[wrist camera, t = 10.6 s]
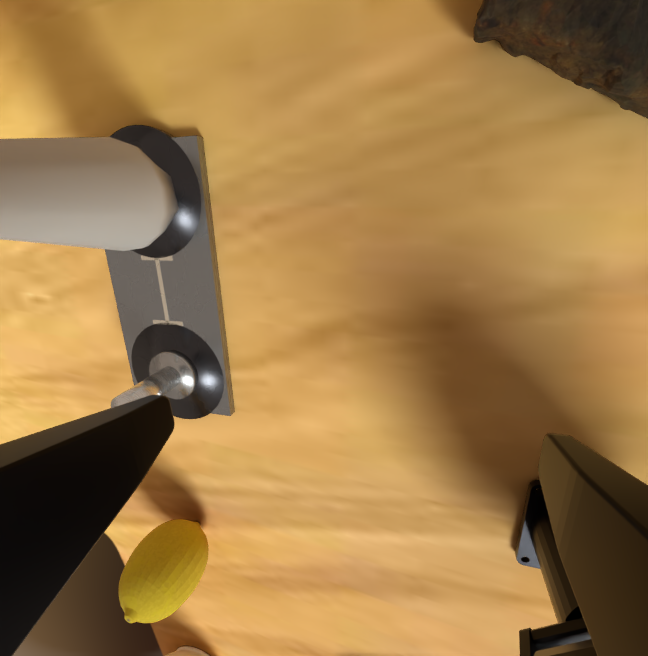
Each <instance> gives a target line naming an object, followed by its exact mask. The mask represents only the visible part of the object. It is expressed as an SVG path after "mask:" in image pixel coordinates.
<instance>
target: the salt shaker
mask: <svg viewBox="0 0 648 656" xmlns="http://www.w3.org/2000/svg"><path fill="white" fill-rule="evenodd" d="M178 210H179V207H178V203H177V199H176V195H175V191H174V187H173V183H172V179H171V176H169V175H168V174H167V173H166V172H164V171H163V170H162V169H161V168H160V167H158V166H157V165H156V164H155V163H154V162H153V161H152V160H151V159H150V158H149V157H148V156H147V155H146V154H145V153H143V152H142V151H141V150H140V149H139V148H138V147H136V146H134V145H131V144H128V143H125V142H123V141H120V140H117V139H114V138H111V137H79V138H25V139H0V239H4V240H14V241H24V242H35V243H45V244H56V245H66V246H77V247H87V248H98V249H108V250H118V251H127V250H134V249H141V248H144V247H147V246H149V245H150V244H151V243H152V242H153V241H155V240H156V239H157V238H158V237H159V236H160V235H161V234H162V233H164V232H165V230H166V229H167V227H168V226H169V224H170V222H171V221H172V219H173V218H174V216H175V214H176V213H177V211H178Z"/></svg>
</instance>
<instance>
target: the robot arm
mask: <svg viewBox="0 0 648 656" xmlns="http://www.w3.org/2000/svg"><path fill="white" fill-rule="evenodd" d="M173 429H174V418H173V414H172V409H171V405H170V401H169V399H168V398H167V397H166V396H162V395H149V396H146V397H143V398H140V399H137V400H134V401H131V402H128V403H125V404H122V405H119V406H116V407H113V408H110V409H107V410H104V411H101V412H98V413H95V414H92V415H89V416H86V417H83V418H80V419H77V420H74V421H71V422H68V423H65V424H62V425H58V426H55V427H52V428H49V429H46V430H43V431H40V432H37V433H34V434H31V435H28V436H25V437H22V438H19V439H16V440H13V441H10V442H7V443H4V444H1V445H0V656H12V655H13V654H14V653H15V651H16V650H17V649H18V648H19V646H20V645H21V643H22V642H23V641H24V639H25V638H26V637H27V635H28V634H29V632H30V631H31V630H32V628H33V627H34V626H35V625H36V623H37V622H38V620H39V619H40V618H41V616H42V615H43V614H44V613H45V611H46V610H47V609H48V607H49V606H50V604H51V603H52V602H53V600H54V599H55V598H56V596H57V595H58V594H59V592H60V591H61V590H62V588H63V587H64V586H65V584H66V583H67V581H68V580H69V579H70V577H71V576H72V575H73V574H74V572H75V571H76V570H77V568H78V567H79V565H80V564H81V563H82V561H83V560H84V559H85V557H86V556H87V555H88V553H89V552H90V551H91V549H92V548H93V547H94V545H95V544H96V543H97V541H98V540H99V539H100V537H101V536H102V535H103V533H104V532H105V530H106V529H107V528H108V526H109V525H110V524H111V522H112V521H113V520H114V518H115V517H116V516H117V514H118V513H119V512H120V510H121V509H122V508H123V506H124V505H125V504H126V502H127V501H128V500H129V498H130V497H131V496H132V494H133V493H134V491H135V490H136V489H137V487H138V486H139V485H140V483H141V482H142V480H143V479H144V477H145V476H146V474H147V472H148V471H149V469H150V468H151V466H152V464H153V463H154V461H155V459H156V458H157V456H158V455H159V453H160V451H161V450H162V448H163V446H164V445H165V443H166V442H167V440H168V438H169V437H170V435H171V433H172V432H173ZM538 473H539V479H540V480H534V481H532V482H531V483H530V484H529V488H528V492H527V497H526V502H525V507H524V512H523V517H522V522H521V527H520V532H519V537H518V541H517V546H516V551H515V555H516V559H517V561H518V562H519V563H520V564H522V565H525V566H530V567H535V568H539V569H541V571H542V574H543V578H544V581H545V584H546V587H547V590H548V593H549V596H550V599H551V602H552V605H553V609H554V612H555V615H556V618H557V621H558V623H557V624H553V625H549V626H545V627H541V628H537V629H533V630H532V629H531V628H527V629H523V630H520V631H519V637H520V656H648V485H646V484H645V483H643V482H642V481H640V480H639V479H637V478H635V477H634V476H632V475H631V474H629V473H628V472H626V471H624V470H623V469H621V468H620V467H618V466H617V465H615V464H614V463H612V462H610V461H609V460H607V459H606V458H604V457H603V456H601V455H599V454H598V453H596V452H595V451H593V450H592V449H590V448H589V447H587V446H585V445H584V444H582V443H581V442H579V441H578V440H576V439H574V438H573V437H571V436H569V435H563V434H552V433H548V434H547V435H545V437H544V440H543V445H542V450H541V455H540V460H539V466H538ZM538 488H542V489H541V490H536V489H538Z"/></svg>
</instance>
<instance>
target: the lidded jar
mask: <svg viewBox="0 0 648 656" xmlns="http://www.w3.org/2000/svg"><path fill="white" fill-rule="evenodd" d="M165 656H210V655H209V654H207V653H206V652H204V651H202V650H200V649H197V648H195V647H191V646H182V647H179V648H178V649H177V650H176V651H175V652H172V653H169V654H167V655H165Z"/></svg>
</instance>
